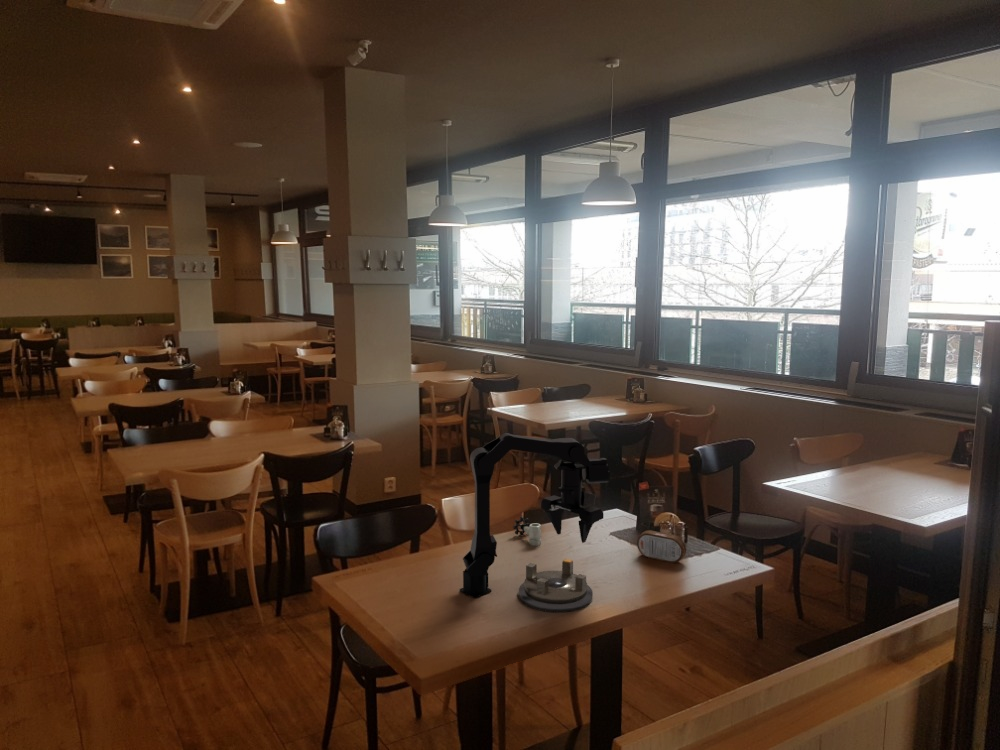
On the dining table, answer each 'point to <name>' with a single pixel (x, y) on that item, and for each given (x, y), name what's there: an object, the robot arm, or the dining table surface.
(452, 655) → the dining table surface
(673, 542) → the tin
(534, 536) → the valve
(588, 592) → the base plate
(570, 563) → the round fixture plate
